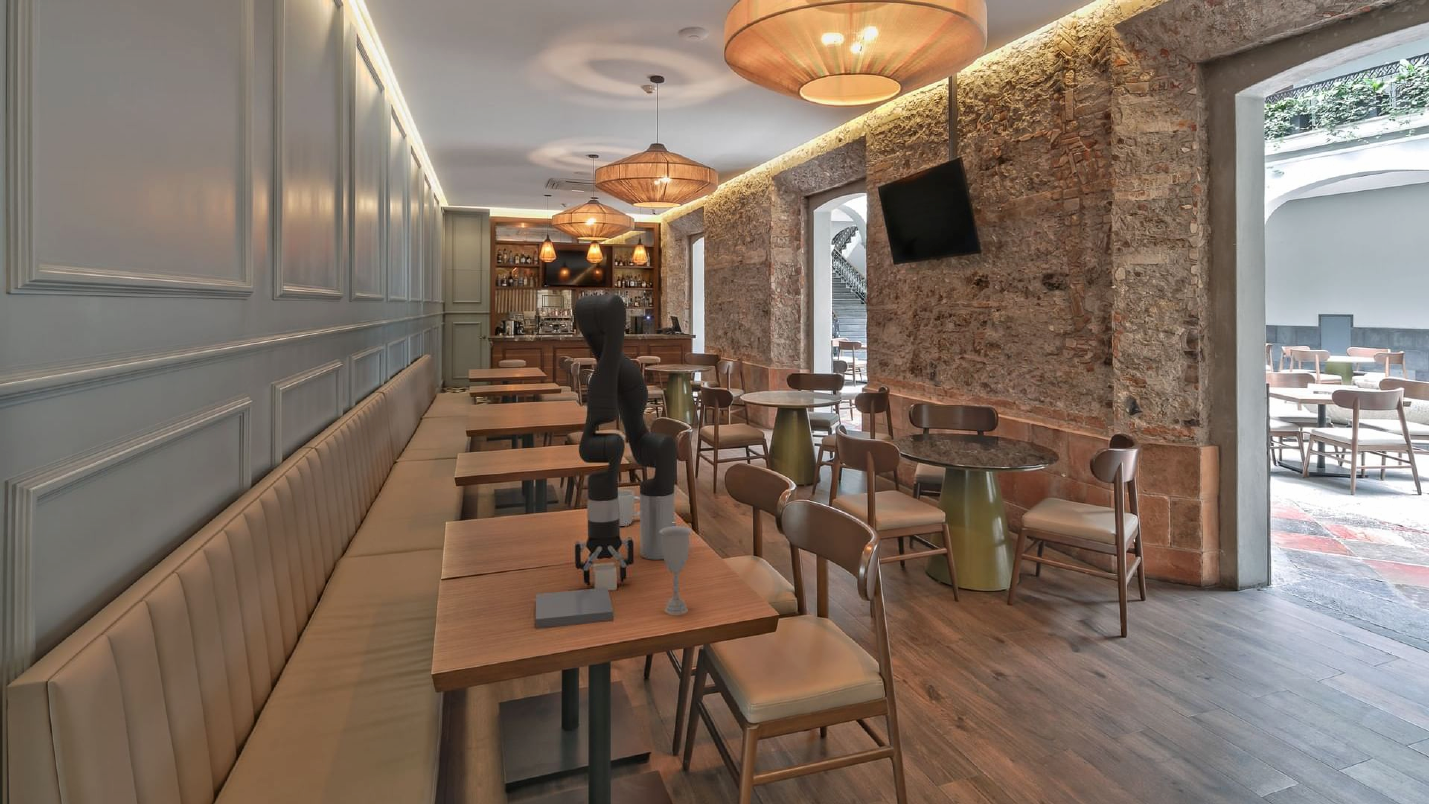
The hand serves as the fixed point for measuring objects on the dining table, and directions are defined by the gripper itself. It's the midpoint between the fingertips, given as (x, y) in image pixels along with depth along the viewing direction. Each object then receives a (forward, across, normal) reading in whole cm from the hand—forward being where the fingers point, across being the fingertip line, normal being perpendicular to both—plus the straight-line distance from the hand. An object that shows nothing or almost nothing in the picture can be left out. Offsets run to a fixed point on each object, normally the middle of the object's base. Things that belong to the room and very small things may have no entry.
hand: (605, 582), depth 172 cm
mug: (+1, -11, -52) cm, 53 cm away
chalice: (+1, -14, +18) cm, 23 cm away
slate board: (+1, +8, +13) cm, 15 cm away
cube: (+1, 0, 0) cm, 1 cm away
